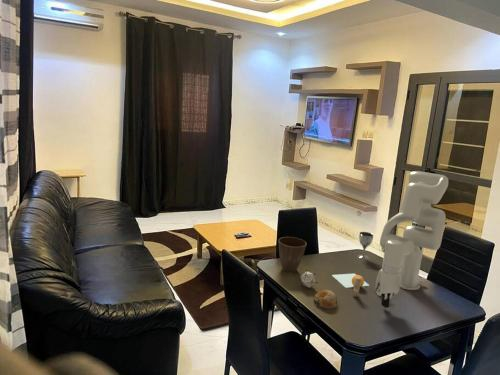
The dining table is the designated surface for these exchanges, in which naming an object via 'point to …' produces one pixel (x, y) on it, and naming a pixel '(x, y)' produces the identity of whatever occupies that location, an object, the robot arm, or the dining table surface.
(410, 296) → the dining table surface
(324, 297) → the bread roll
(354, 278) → the ball
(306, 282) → the game die
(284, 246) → the plant pot
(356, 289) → the post
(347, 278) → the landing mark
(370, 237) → the wine glass
